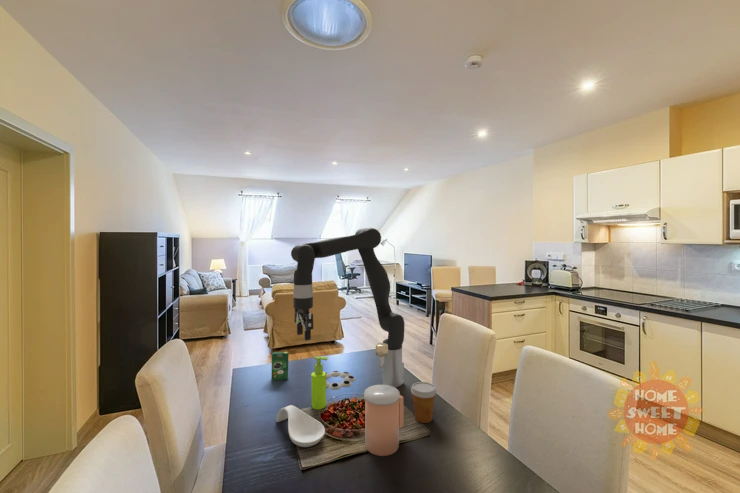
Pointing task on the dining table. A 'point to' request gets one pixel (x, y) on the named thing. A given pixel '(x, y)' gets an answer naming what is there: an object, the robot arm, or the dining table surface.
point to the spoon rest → (301, 426)
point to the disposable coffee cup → (423, 401)
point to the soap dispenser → (318, 385)
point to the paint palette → (342, 375)
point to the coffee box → (279, 366)
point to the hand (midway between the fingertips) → (303, 337)
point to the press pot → (383, 419)
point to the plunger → (381, 352)
